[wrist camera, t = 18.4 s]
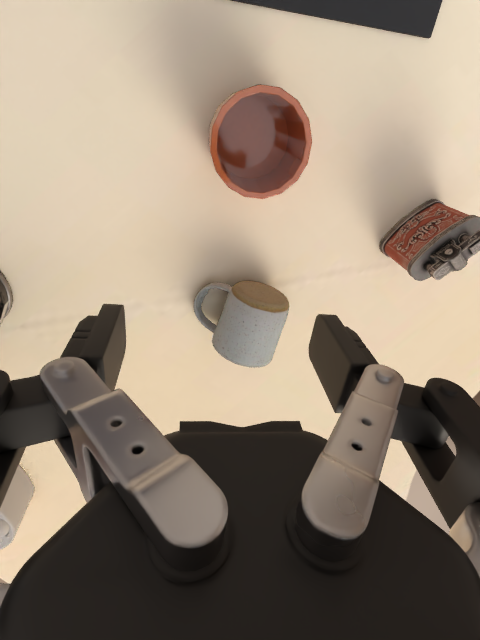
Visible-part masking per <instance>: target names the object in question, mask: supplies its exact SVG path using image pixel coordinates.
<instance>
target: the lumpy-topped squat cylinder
mask: <svg viewBox="0 0 480 640" xmlns="http://www.w3.org/2000/svg"><path fill="white" fill-rule="evenodd" d="M33 492H34V485H33V483H32V481H31V479H30V478H29V476H28V475H27V473H26V472H25V471H24V470H23V469H22V467H21V466H20V465H18V467H17V469H16V472H15V474H14V477H13V479H12V481H11V484H10V486H9V489H8V491H7V493H6V496H5V498H4V501H3V503H2V505H1V508H0V549H3V548H5V547H6V546H8V545H9V544H10V543H11V542H12V541H13V539H14V537H15V535H16V532H17V530H18V528H19V526H20V523H21V521H22V519H23V516H24V514H25V512H26V509H27V507H28V505H29V502H30V500H31V498H32V496H33Z"/></svg>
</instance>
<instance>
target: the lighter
mask: <svg viewBox="0 0 480 640" xmlns="http://www.w3.org/2000/svg"><path fill="white" fill-rule="evenodd" d="M379 247H380V250H381V252H382V253H383V254H385V255H386V256H388V257H391V258H392V259H393V260H395V261H396V262H397V263H398V264H400V265H401V266H402V267H403V268H404V269H406V270H407V271H408V273H409V275H410V276H412V277H413V278H414V279H415V280H418V281H423V280H425V279H428V278H429V277H431V276H432V277H433V278H435V279H436V280H440V279H442V278H443V277H444V276H446V275H447V274H448V273H450V272H451V271H458V270H461V269H463V268H464V267H465V266H466V265H467V261H468V259H469V258H470V257H471V256H473V255H474V254H476V253H477V252H478V251H480V217H478V216H475V215H467V214H465V213H462V212H460V211H458V210H455V209H453V208H450V207H448V206H446V205H445V204H444V203H443V202H441V201H438V200H436V199H431V200H429V201H427V202H425V203H424V204H422V205H420V206H419V207H417V208H415V209H414V210H413V211H411V212H410V213H409V214H407V215H406V216H405V217H403V218H402V219H401V220H400V221H399V222H398V223H397V224H396V225H395V226H394V227H392V228H391V230H390V231H389V232H388V233H387V234H386V235H385V236H384V237H383V238H382V240H381V241H380V245H379Z"/></svg>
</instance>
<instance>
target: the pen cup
mask: <svg viewBox="0 0 480 640" xmlns="http://www.w3.org/2000/svg"><path fill="white" fill-rule="evenodd" d="M311 144H312V137H311V130H310V124H309V119H308V117H307V115H306V114H305V112H304V110H303V108H302V107H301V105H300V103H299V101H298V100H297V99H295V98H294V97H293V96H291V95H290V94H289V93H287V92H286V91H284V90H283V89H282V88H280V87H273V86H267V85H261V84H260V85H256V86H252V87H249V88H246V89H243V90H240V91H237V92H235V93H232V94H231V95H230V96H229V97H228V98H227V99H225V100H224V101H223V102H222V103H221V104H220V105H219V106H218V108H217V110H216V112H215V114H214V116H213V119H212V121H211V123H210V131H209V147H210V152H211V155H212V159H213V162H214V166H215V169H216V172H217V173H218V174H219V176H220V177H221V178H222V180H223V181H224V182H225V184H226V185H227V186H228V187H229V188H230V189H232V190H234V191H236V192H237V193H239V194H241V195H243V196H244V197H251V198H260V199H265V198H268V197H271V196H274V195H278V194H281V193H282V192H284V191H285V190H286V189H287V188H289V187H290V186H291V185H292V184H294V183H295V182H296V181H297V180H298V178H299V177H300V175H301V173H302V172H303V170H304V168H305V167H306V165H307V163H308V159H309V154H310V149H311Z"/></svg>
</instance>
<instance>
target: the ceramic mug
mask: <svg viewBox="0 0 480 640" xmlns="http://www.w3.org/2000/svg"><path fill="white" fill-rule="evenodd" d="M213 288H217V289H221V290H224V291H227V292H228V296H227V299H226V302H225V305H224V308H223V311H222V313H221V316H220V319H219V321H218V324H217V326H216V325H215V324H213V323H212V322H211V321H210V320H208V319H207V318H206V317H205V315H204V314H203V312H202V310H201V304H202V302H203V299H204V297H205V295H206V294H208V290H209V289H213ZM288 310H289V302H288V300H287V298H286V297H285V296H284V294H282V293H281V292H280V291H278V290H277V289H275V288H273V287H271V286H268V285H266V284H263V283H259V282H255V281H242V282H238V283H236V284H235V285H234V286H233V287H232V286H229V285H228V284H225V283H218V282H217V283H210V284H208V285H206V286H205V287H204V288H202V289H201V290H200V291H199V292H198V294H197V296H196V298H195V300H194V312H195V314H196V316H197V318H198V320H199V321H200V322H201V323H202V324H203V325H204V326H205V327H206V328H207V329H209V330H210V331H212V332H213V333H214V335H213V339H212V343H213V346H214V348H215V350H216V351H217V352H218V353H219V354H220V355H221V356H223V357H224V358H226V359H227V360H229V361H231V362H233V363H235V364H238V365H241V366H245V367H263V366H265V365H267V364H268V363H270V361H271V360H272V357H273V354H274V352H275V349H276V346H277V343H278V340H279V338H280V335H281V332H282V329H283V326H284V324H285V321H286V318H287V315H288Z"/></svg>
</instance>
